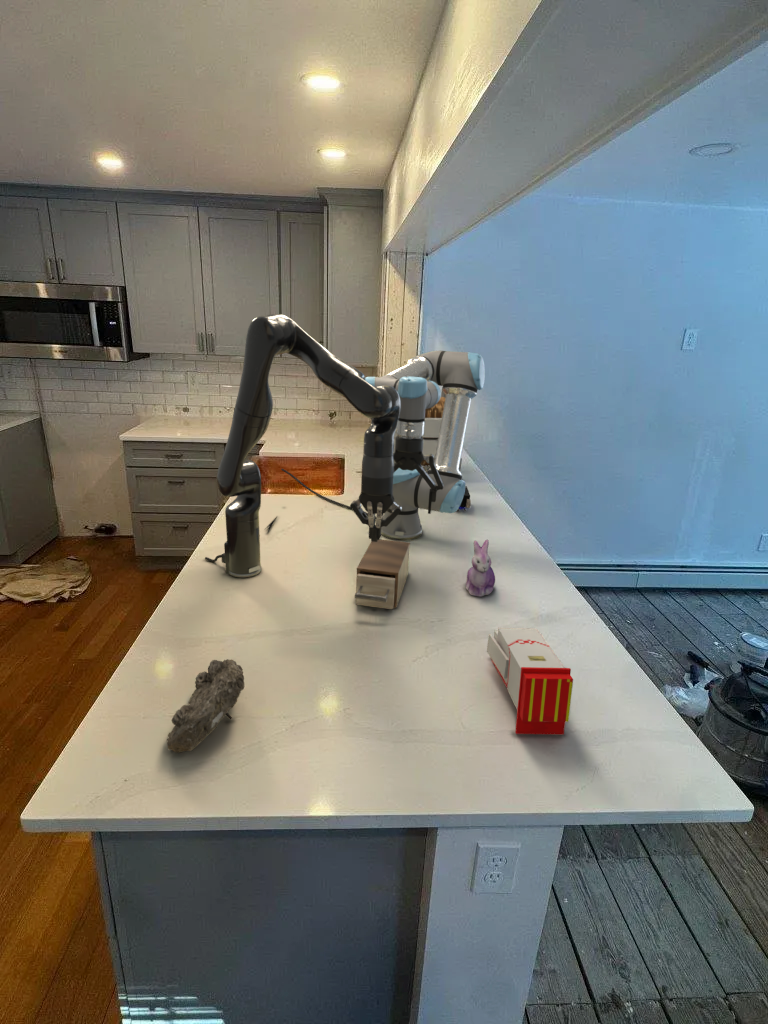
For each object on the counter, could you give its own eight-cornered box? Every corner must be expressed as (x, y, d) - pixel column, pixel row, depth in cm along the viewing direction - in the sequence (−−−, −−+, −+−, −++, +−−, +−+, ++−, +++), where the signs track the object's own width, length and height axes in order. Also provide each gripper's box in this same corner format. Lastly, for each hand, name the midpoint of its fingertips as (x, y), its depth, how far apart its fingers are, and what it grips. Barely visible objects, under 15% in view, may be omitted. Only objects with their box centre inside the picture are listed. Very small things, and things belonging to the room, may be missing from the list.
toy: (534, 612, 132) (582, 675, 102) (529, 665, 135) (574, 741, 105) (482, 611, 131) (516, 674, 102) (478, 664, 134) (510, 740, 105)
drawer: (389, 620, 143) (390, 590, 140) (350, 615, 144) (351, 585, 141) (404, 576, 166) (406, 550, 163) (371, 572, 168) (372, 546, 165)
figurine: (477, 600, 156) (482, 550, 151) (456, 584, 164) (460, 537, 159) (504, 594, 160) (510, 545, 155) (482, 579, 168) (487, 532, 163)
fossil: (192, 660, 117) (244, 628, 112) (224, 691, 120) (276, 661, 115) (142, 746, 98) (202, 712, 93) (182, 779, 101) (242, 748, 96)
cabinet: (396, 608, 150) (398, 573, 147) (355, 602, 152) (356, 567, 149) (408, 574, 170) (410, 542, 166) (371, 569, 172) (373, 538, 168)
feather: (285, 510, 221) (287, 506, 220) (266, 535, 194) (269, 530, 194) (281, 507, 221) (283, 503, 220) (262, 532, 194) (265, 527, 193)
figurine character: (470, 516, 223) (465, 500, 237) (473, 499, 220) (467, 484, 233) (453, 516, 223) (449, 500, 236) (455, 498, 220) (451, 483, 233)
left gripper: (346, 474, 131) (344, 543, 137) (402, 479, 129) (398, 549, 135) (354, 466, 138) (352, 532, 144) (407, 471, 136) (403, 537, 142)
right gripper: (361, 435, 150) (359, 511, 157) (456, 442, 148) (449, 518, 155) (365, 430, 157) (363, 502, 164) (456, 436, 155) (449, 509, 162)
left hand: (374, 540), depth 139 cm, fingers closed
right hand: (405, 510), depth 160 cm, fingers open, 13 cm apart
